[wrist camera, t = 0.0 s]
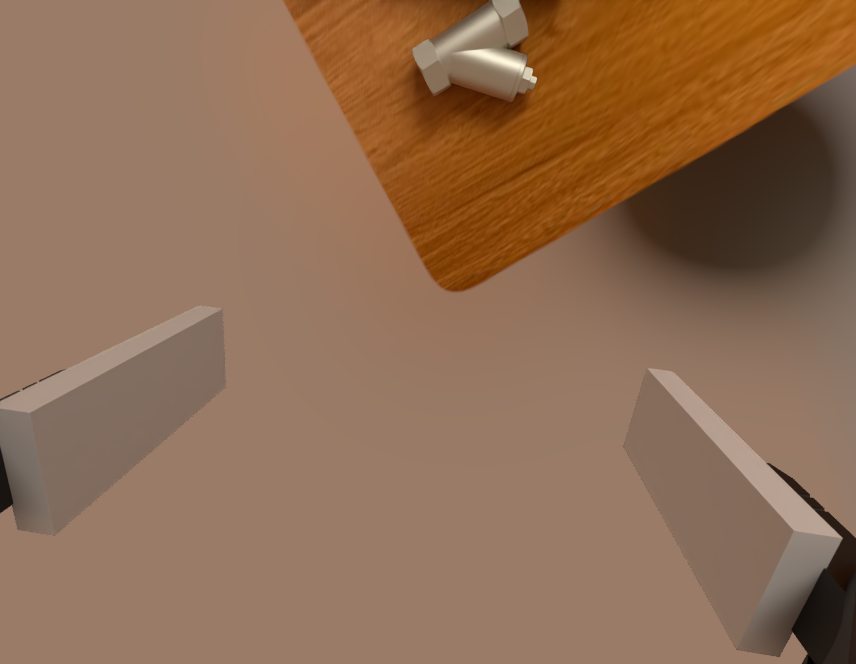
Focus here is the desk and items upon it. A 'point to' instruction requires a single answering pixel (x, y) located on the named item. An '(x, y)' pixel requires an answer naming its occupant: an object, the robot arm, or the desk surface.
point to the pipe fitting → (480, 53)
